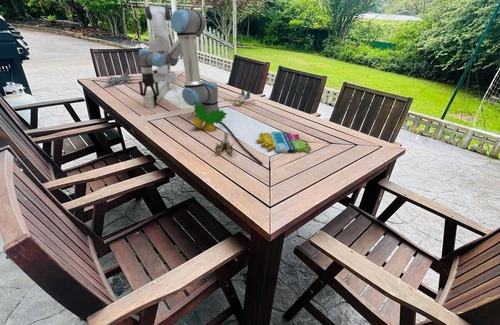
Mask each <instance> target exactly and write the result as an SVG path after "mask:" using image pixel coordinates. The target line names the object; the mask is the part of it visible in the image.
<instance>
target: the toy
mask: <svg viewBox="0 0 500 325" xmlns="http://www.w3.org/2000/svg"><path fill="white" fill-rule="evenodd" d="M240 92H241V93H240V95H238V96H237V97H235V99H233V98H230V99H228V98H227V97H226V96H225V97H224V98H223V101H224V102H233V103H232V104H233V105H235V106H242V103H243V104H247V105H252V106H255V105H256V104H257V103H256V102H254V101H253V100H252V101H251V102H250V101H248V100H246V99H248V98H250V97H251V90H250V89H249V90H248V91H247V92H246V93H245V91H244V89H242V90H241V91H240Z"/></svg>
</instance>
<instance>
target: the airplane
mask: <svg viewBox="0 0 500 325" xmlns="http://www.w3.org/2000/svg"><path fill="white" fill-rule="evenodd" d="M129 69H130V68H126V71H125V73H124V74H120V76H119V77H118V76H109V75H105V76H106V78H109V79H108V82H107V83H106V84H105V85H104V86H102V88H109V87H111V86H115V85H118V84H119V85H121V84H125V83H130V82H132V81H137V80H138V79H136V78H134V77H136V76H135V75H130V73H129Z"/></svg>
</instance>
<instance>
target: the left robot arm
mask: <svg viewBox="0 0 500 325" xmlns="http://www.w3.org/2000/svg"><path fill="white" fill-rule="evenodd" d="M143 12H144V16H145V18H146V19H147V20H149V21H151V29H152V33H153V35H154V37H155V38H149V40H147V46H148V48H149V50H150V51H152V52H153V54H165V53H167V52H168V51H169V50H170V48H171V47H172V46H173V45H174V43H175V42H176V41H174V39H172V37H171V35H170V34H169V33H168V30H167V26H166V25H167V24H166V22H167V21H171V16H172V11H171V9H170V8H169V7H167V6H160V5H152V6H150V5H148V6H145V7H144V11H143ZM177 64H178V62H177V63H176V64H170V65H163V66H162V67H157V68H155V69H152V70H153V72H152V73H153V78H154V81H155V82H158V83H159V82H160V81H167V82H168V83H169V85H168V87H169V88H170V85H171V83H176V80H177V79H176V72H174V71H172V70H171V67H175V66H176V65H177Z"/></svg>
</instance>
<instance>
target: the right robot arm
mask: <svg viewBox="0 0 500 325" xmlns="http://www.w3.org/2000/svg"><path fill="white" fill-rule="evenodd" d="M170 26H171V29H172V30H173V31H174V32H175V33H176V37H177V40H176V41H174V42H175V43H174V45H173V46H172V47H171V48H170V50H169V51H166V53H165V54H155V53H152V52H151V49H148V48H140V49H139V50H138V57H139V64H140V71H141V78H142V79H141V80H139V81H138V85H139V93H140V96H142V97H143V98H144V96H145V95H146V94H147V89H148V87H150V88H151V89H152V91H153V93H154V104H155V106H157V104H156V101H157V96H159V89H158V82H155V81H154V78H153V73H152V72H153V70H154V69H153V67H156V68H158V67H162V66H163V65H170V64H176V63H177V64H178V63H179V59H180V58H179V57H180V56H181V55H182V60H183V67H184V73H185V80H186V81H185V83H184V88H183V89H182V92H181V97H182V99H183V101H184V103H185V104H187V105H188V106H191V107H194V106H196V102H197V103H198V104H201V106H204V109H206V112H208V113H211V112H212V110H214V111H216V110H217V109H219V111H221V110H220V107H219V102H218V99H219V98H218V97H219V87H218V84H217V82H214V81H208V80H201V75H200V68H199V60H198V52H197V45H196V39H197V38H199V37H200V36H201V35H202V34H203V33H204V31H205V29H206V26H207V24H206V18H205V16H204V14H203V13H202V12H200V11H199V10H192V9H185V8H184V9H183V8H182V9H175V10H174V12H172V14H171V18H170ZM177 64H176V65H177ZM155 86H156V91H155V89H154V87H155ZM143 88H144V89H143ZM151 89H150V90H151ZM156 92H157V94H156ZM208 113H207V115H208ZM218 123H220V124H222V126H224V127H225V129H227V131H228V132H229V133H230V135H231V136H232V137H233V138H234V139H235V141H236V142H237V144H239V146H240V147H241V148H242V149H243V150H244V151H245V152H246V153H247V154H248V155H249V156H250V157H252V158H253V159H254V160H255V161H257V162H258V163H259V164H261V165H262V164H263V162H262V161H261V160H259V159H258V158H257V157H256V156H254V155H253V154H252V153H251V152H249V150H247V148H246V147H245V146H244V145H243V144H242V143H241V141H240V140H238V138H237V137H236V136H235V134H234V133H233V132H232V131H231V129H229V127H228V126H227V125H226V124H225V123H223V121H222V122H221V121H219V122H218Z"/></svg>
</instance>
